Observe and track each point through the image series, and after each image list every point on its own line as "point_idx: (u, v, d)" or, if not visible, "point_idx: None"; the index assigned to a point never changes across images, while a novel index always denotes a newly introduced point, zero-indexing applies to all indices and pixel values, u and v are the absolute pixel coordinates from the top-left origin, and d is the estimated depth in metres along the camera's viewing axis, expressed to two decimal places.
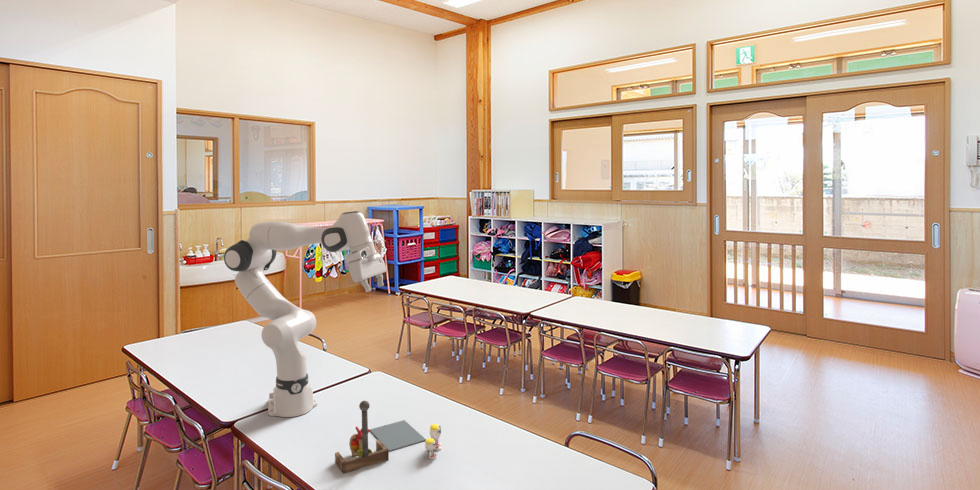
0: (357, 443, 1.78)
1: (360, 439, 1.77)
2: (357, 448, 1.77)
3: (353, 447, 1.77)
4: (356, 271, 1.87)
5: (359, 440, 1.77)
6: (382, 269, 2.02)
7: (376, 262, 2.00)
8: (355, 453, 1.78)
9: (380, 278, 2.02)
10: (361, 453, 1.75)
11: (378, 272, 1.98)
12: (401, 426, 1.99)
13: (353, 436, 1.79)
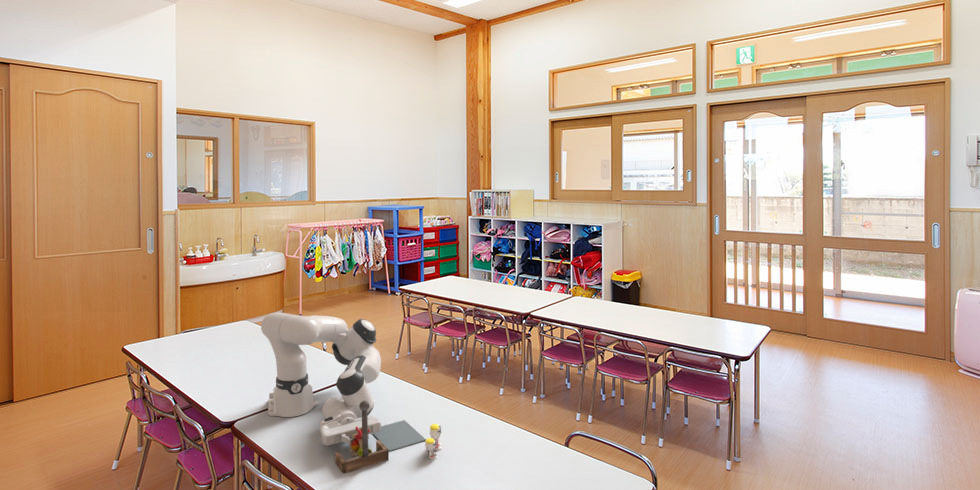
0: (357, 443, 1.78)
1: (360, 439, 1.77)
2: (357, 448, 1.77)
3: (353, 447, 1.77)
4: (321, 435, 1.78)
5: (359, 440, 1.77)
6: (370, 422, 1.85)
7: (360, 421, 1.87)
8: (355, 453, 1.78)
9: None
10: (361, 453, 1.75)
11: (360, 426, 1.83)
12: (401, 426, 1.99)
13: (353, 436, 1.79)
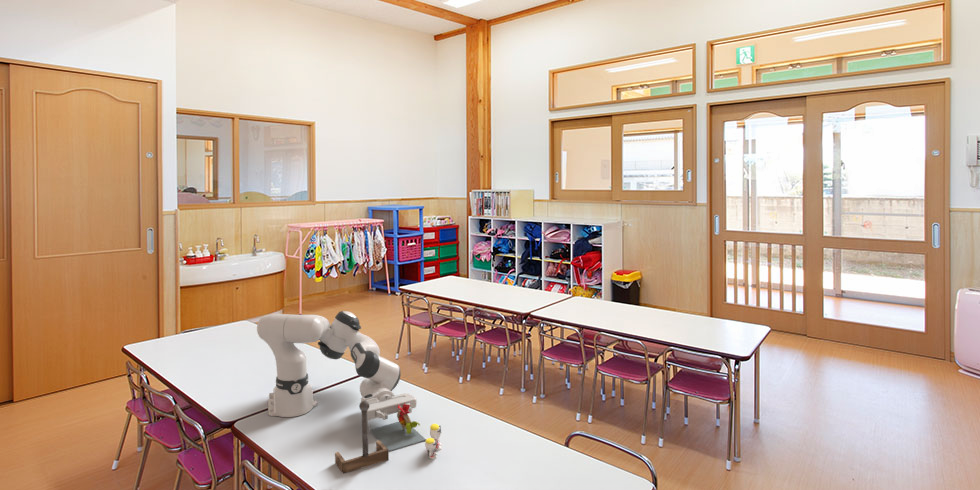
0: (403, 418, 1.95)
1: (404, 415, 1.93)
2: (404, 422, 1.95)
3: (401, 422, 1.95)
4: None
5: (403, 416, 1.93)
6: (406, 399, 2.00)
7: (397, 398, 2.01)
8: (404, 427, 1.96)
9: None
10: (408, 427, 1.92)
11: (398, 402, 1.97)
12: (401, 426, 1.99)
13: (398, 413, 1.96)
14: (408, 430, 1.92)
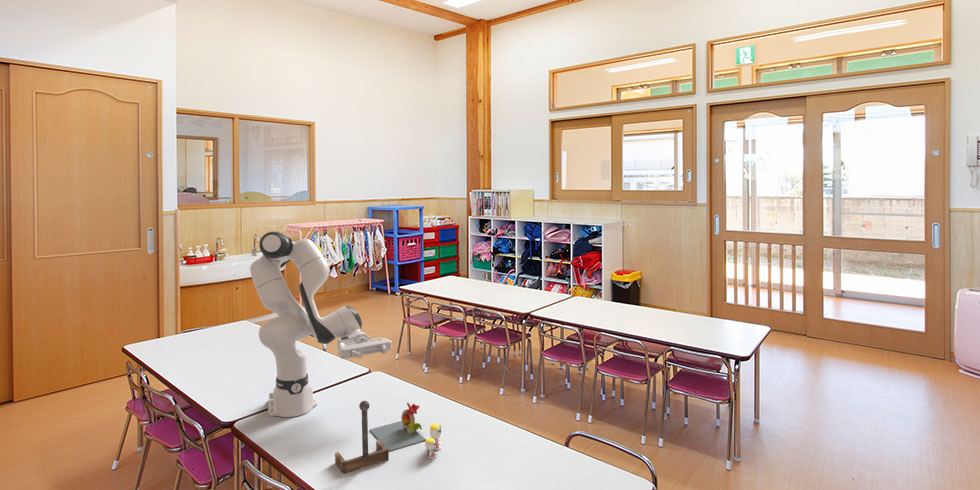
0: (408, 417, 1.96)
1: (411, 414, 1.94)
2: (408, 422, 1.95)
3: (404, 421, 1.95)
4: (339, 350, 1.99)
5: (410, 415, 1.94)
6: (382, 341, 2.06)
7: (373, 341, 2.07)
8: (406, 426, 1.96)
9: (383, 348, 2.03)
10: (411, 426, 1.92)
11: (374, 343, 2.03)
12: (401, 426, 1.99)
13: (405, 411, 1.97)
14: (410, 430, 1.92)
